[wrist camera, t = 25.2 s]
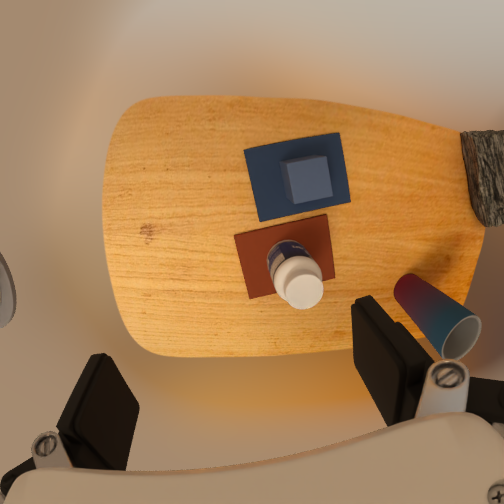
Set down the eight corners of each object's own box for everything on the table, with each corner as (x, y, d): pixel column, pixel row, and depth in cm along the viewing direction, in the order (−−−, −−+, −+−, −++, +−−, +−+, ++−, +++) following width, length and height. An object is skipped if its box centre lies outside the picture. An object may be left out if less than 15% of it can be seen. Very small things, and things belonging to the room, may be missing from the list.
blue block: (286, 197, 37) (294, 204, 33) (279, 161, 35) (286, 163, 31) (321, 190, 37) (333, 196, 33) (314, 154, 35) (326, 156, 31)
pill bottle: (314, 249, 39) (340, 280, 30) (294, 283, 41) (313, 322, 32) (278, 231, 38) (295, 259, 29) (258, 268, 40) (268, 304, 30)
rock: (493, 123, 36) (518, 123, 30) (506, 209, 40) (529, 216, 35) (450, 133, 36) (476, 133, 30) (467, 229, 41) (491, 239, 35)
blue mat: (259, 221, 38) (259, 222, 38) (243, 150, 35) (243, 149, 35) (349, 201, 38) (350, 201, 38) (338, 132, 35) (339, 132, 35)
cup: (405, 261, 42) (466, 307, 28) (430, 278, 43) (488, 324, 29) (380, 298, 44) (432, 356, 30) (407, 313, 45) (457, 366, 31)
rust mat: (249, 297, 42) (249, 299, 41) (233, 235, 38) (233, 236, 38) (334, 276, 42) (335, 278, 41) (325, 214, 39) (326, 214, 38)
